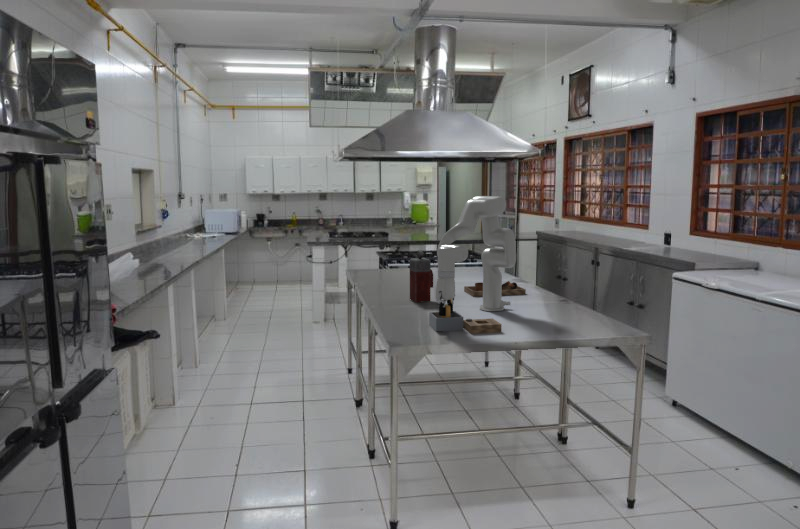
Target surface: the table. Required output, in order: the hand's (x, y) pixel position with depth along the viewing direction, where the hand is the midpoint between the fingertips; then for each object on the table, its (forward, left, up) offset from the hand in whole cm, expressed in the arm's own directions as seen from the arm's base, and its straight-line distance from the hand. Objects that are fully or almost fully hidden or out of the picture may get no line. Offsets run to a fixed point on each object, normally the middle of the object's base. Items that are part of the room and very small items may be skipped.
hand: (446, 313), depth 254 cm
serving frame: (-50, -74, -6) cm, 90 cm away
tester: (-14, +7, -6) cm, 17 cm away
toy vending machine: (-3, -62, -7) cm, 62 cm away
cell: (0, 0, -5) cm, 5 cm away
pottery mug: (-59, -72, -7) cm, 93 cm away
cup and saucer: (-42, -74, -7) cm, 85 cm away
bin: (0, 0, -6) cm, 6 cm away
